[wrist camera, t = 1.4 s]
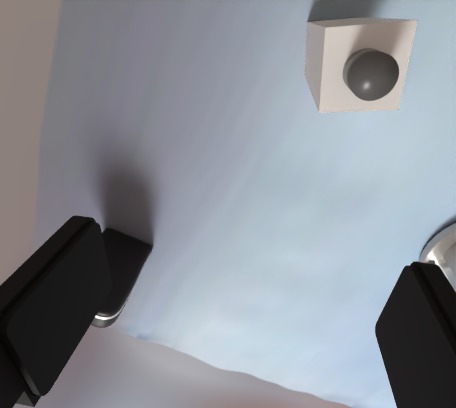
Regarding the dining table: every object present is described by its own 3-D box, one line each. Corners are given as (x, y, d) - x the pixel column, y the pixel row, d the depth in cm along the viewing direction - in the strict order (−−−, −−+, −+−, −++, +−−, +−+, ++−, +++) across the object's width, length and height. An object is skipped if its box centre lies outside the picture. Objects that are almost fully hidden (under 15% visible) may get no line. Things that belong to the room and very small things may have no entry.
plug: (359, 17, 24) (436, 21, 12) (352, 72, 26) (412, 121, 14) (307, 21, 24) (331, 29, 13) (304, 75, 26) (323, 124, 15)
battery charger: (100, 244, 41) (46, 314, 32) (105, 224, 39) (48, 293, 30) (148, 264, 42) (109, 338, 32) (155, 245, 40) (116, 319, 30)
